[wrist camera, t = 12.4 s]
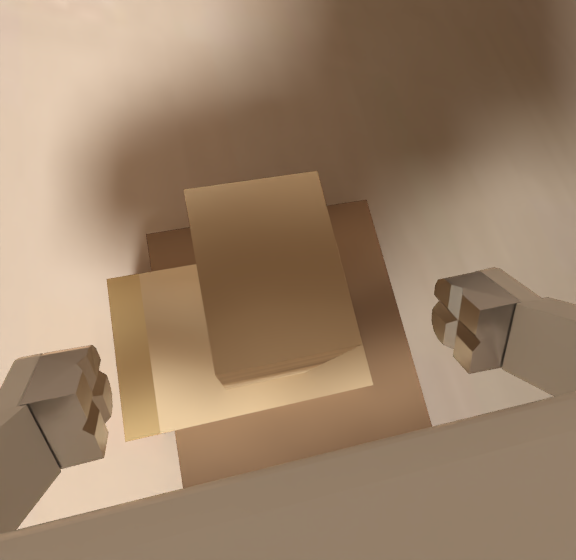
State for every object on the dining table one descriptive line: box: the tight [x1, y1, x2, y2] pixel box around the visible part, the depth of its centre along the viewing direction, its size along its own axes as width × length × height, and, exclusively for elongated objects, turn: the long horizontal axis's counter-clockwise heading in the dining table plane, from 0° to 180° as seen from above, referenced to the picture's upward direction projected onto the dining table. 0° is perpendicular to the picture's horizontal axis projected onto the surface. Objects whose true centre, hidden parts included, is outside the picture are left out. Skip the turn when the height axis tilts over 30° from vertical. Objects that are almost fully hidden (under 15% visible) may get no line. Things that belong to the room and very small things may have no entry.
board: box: [146, 200, 432, 488], centre depth 18 cm, size 22×10×2 cm, turn 12°
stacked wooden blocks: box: [107, 171, 373, 442], centre depth 14 cm, size 6×9×10 cm, turn 102°
